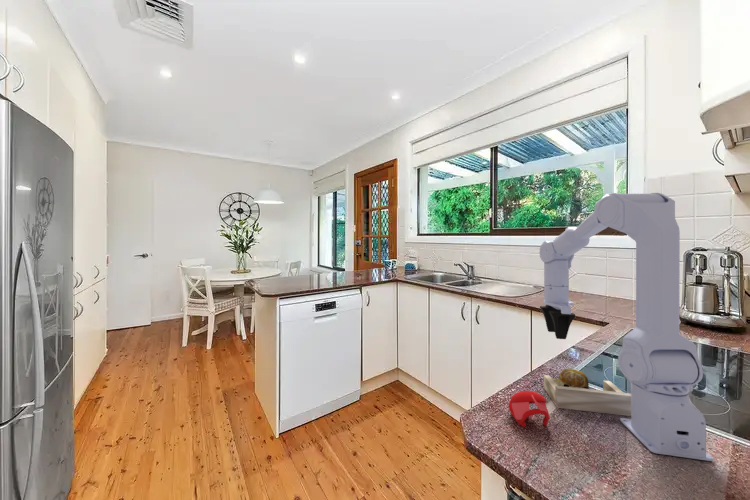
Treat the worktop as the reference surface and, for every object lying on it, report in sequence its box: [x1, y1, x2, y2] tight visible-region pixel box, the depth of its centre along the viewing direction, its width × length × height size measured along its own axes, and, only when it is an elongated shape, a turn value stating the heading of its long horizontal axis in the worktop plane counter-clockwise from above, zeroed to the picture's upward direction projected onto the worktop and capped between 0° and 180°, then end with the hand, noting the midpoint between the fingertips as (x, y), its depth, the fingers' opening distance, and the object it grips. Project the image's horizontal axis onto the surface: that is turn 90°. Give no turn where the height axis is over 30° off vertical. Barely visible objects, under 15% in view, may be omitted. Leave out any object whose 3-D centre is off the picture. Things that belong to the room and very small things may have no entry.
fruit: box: [551, 368, 590, 389], centre depth 70 cm, size 8×8×4 cm
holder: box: [543, 374, 631, 417], centre depth 63 cm, size 9×13×4 cm
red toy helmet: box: [508, 390, 550, 428], centre depth 56 cm, size 8×6×6 cm
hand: (556, 335), depth 80 cm, fingers open, 6 cm apart
